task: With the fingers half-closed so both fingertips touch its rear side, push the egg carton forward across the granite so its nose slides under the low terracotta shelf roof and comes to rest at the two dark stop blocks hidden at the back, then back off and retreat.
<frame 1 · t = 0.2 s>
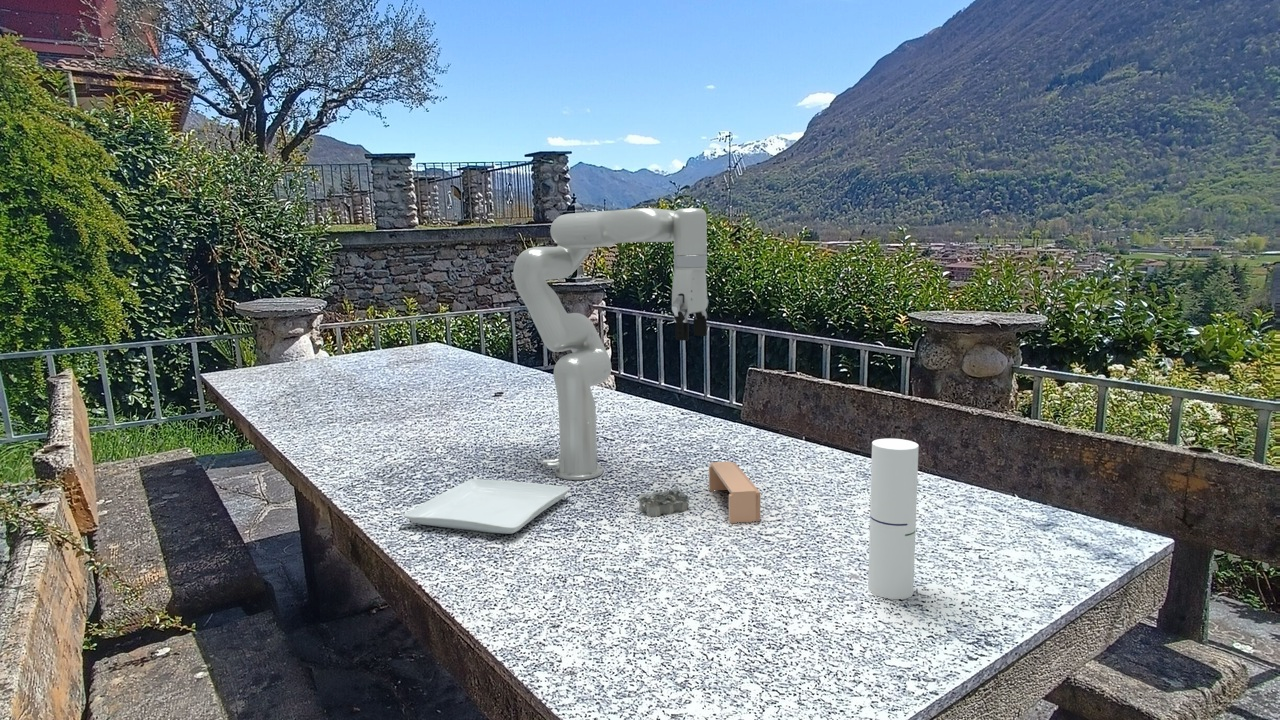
hand: (691, 337, 170), 37 cm above the table, tool pointing down, fingers open, 9 cm apart
cylindrical container: (890, 590, 123), on the table
egg carton: (663, 510, 164), on the table
square plate: (491, 516, 163), on the table
shelf: (729, 505, 165), on the table
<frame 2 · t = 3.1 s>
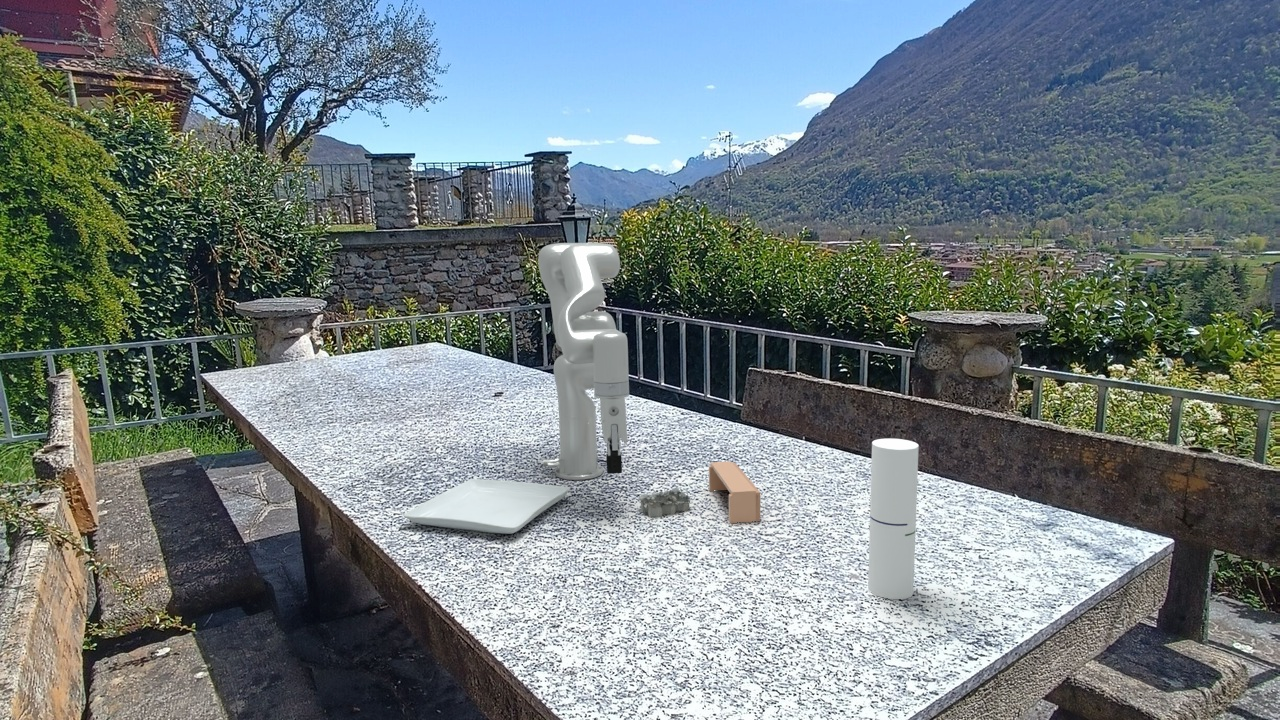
hand: (614, 472, 160), 9 cm above the table, tool pointing down, fingers closed
nothing on the table moved.
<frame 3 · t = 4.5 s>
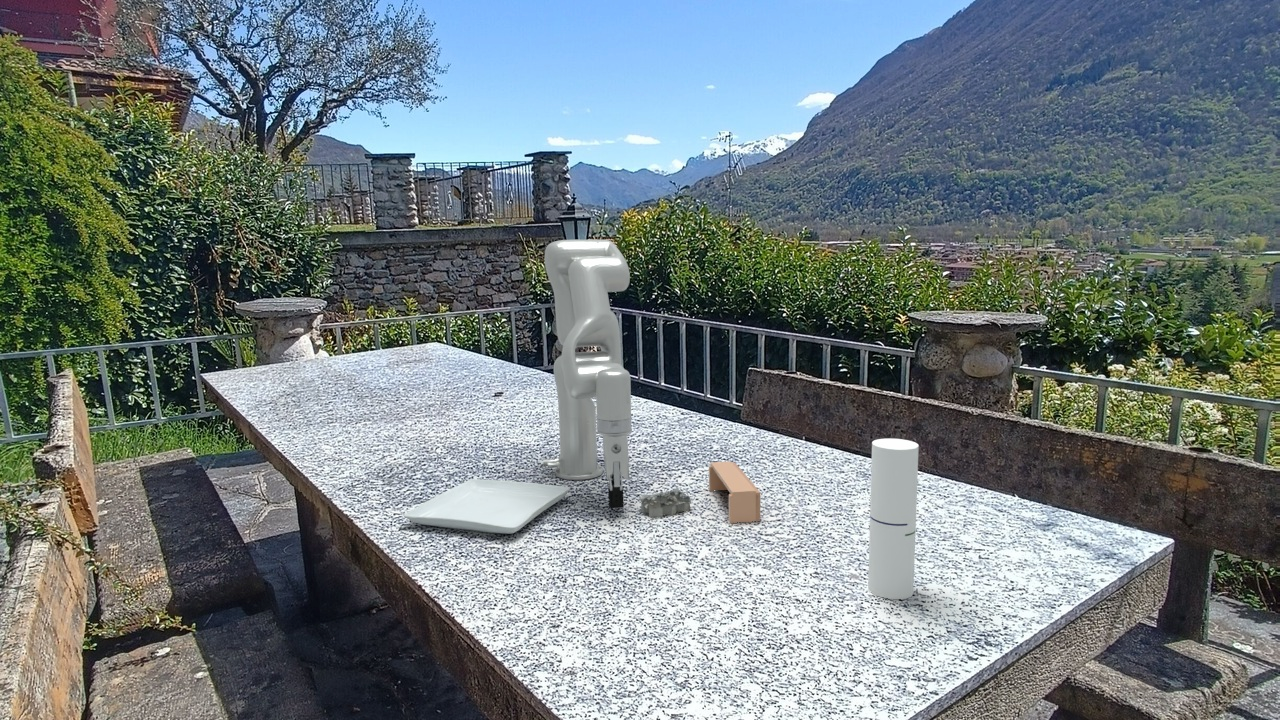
hand: (616, 506, 162), 1 cm above the table, tool pointing down, fingers closed
nothing on the table moved.
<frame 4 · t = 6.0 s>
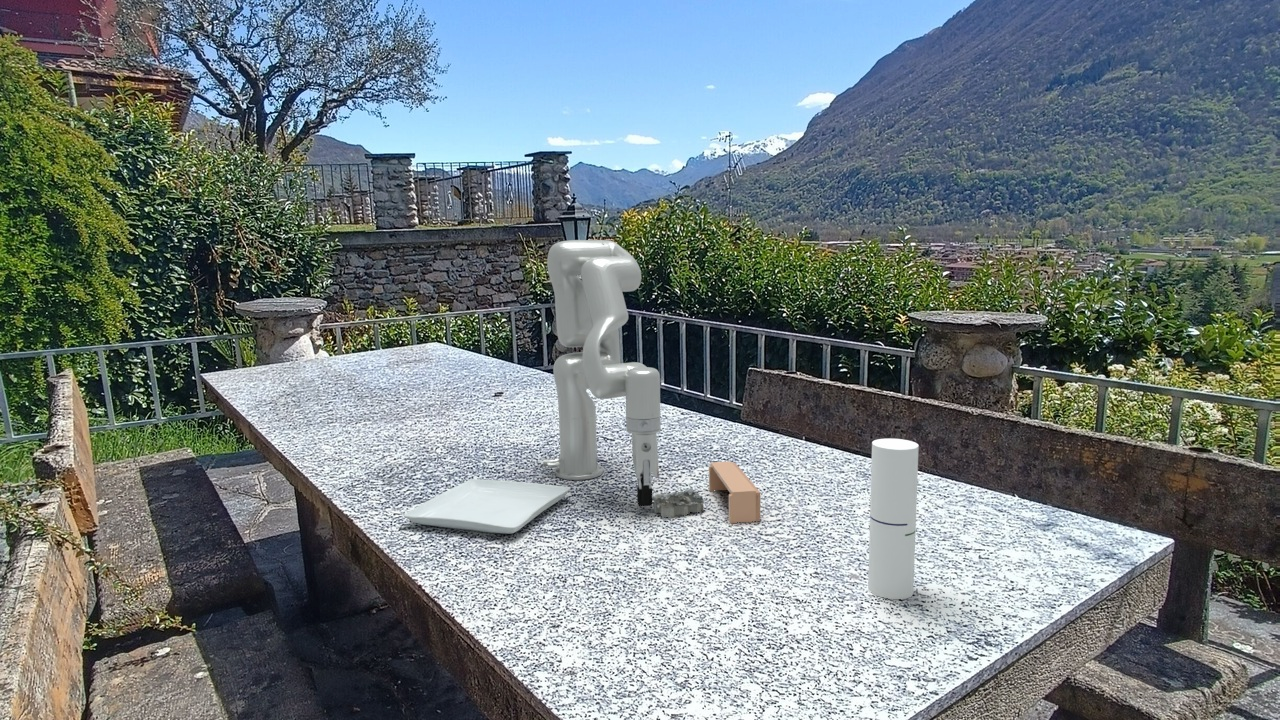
hand: (644, 504, 163), 1 cm above the table, tool pointing down, fingers closed
egg carton: (678, 512, 162), on the table, touching gripper
everything else where it was.
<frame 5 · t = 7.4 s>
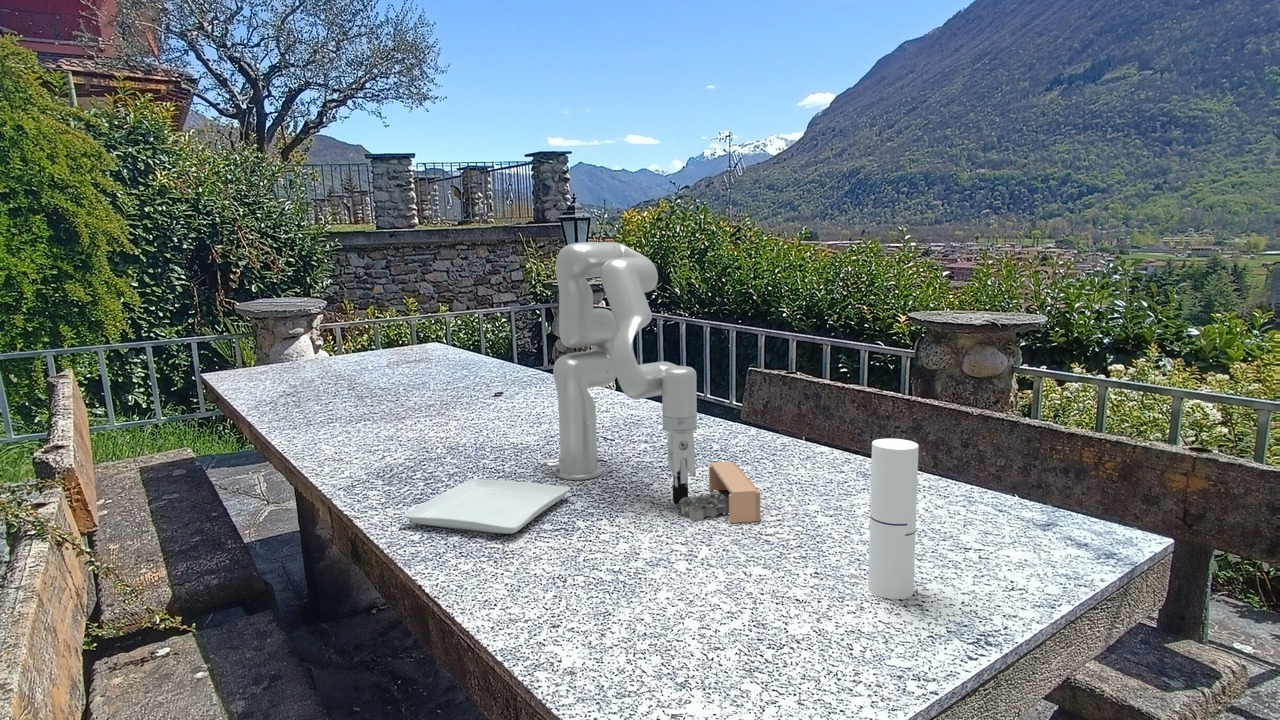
hand: (680, 502, 164), 1 cm above the table, tool pointing down, fingers closed
egg carton: (705, 514, 161), on the table
everything else where it was.
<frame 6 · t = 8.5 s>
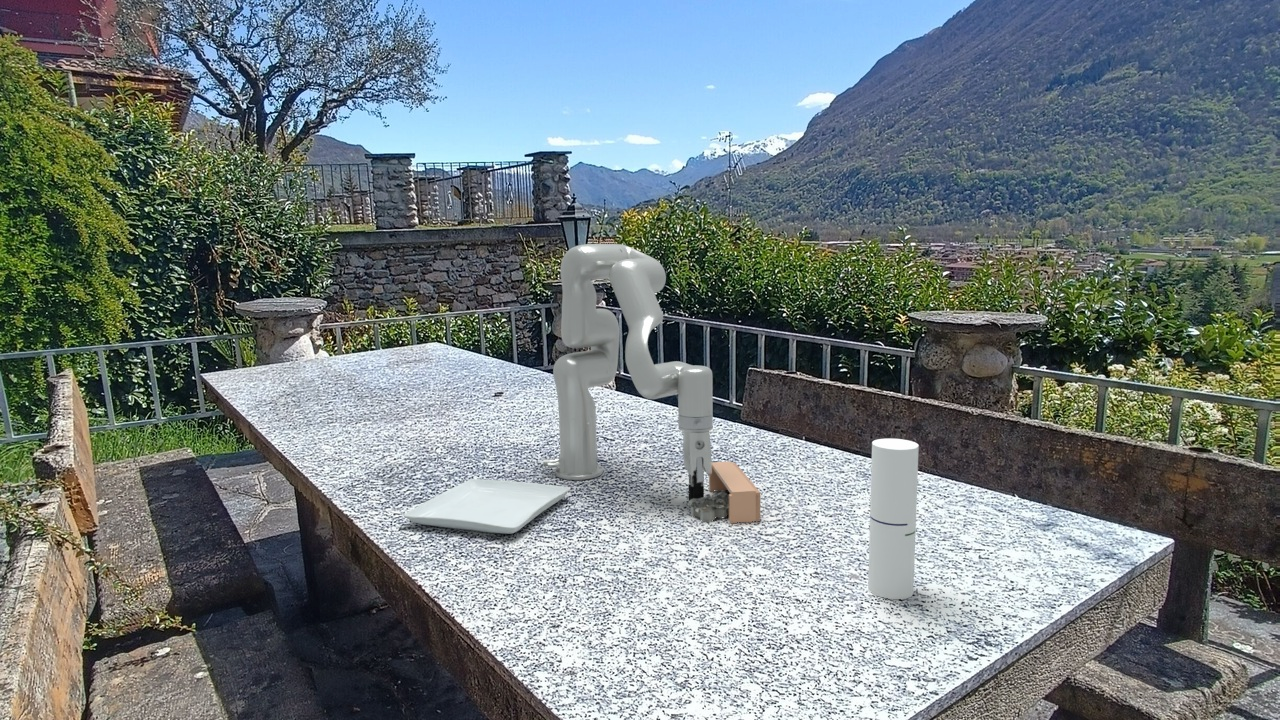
hand: (696, 502, 164), 1 cm above the table, tool pointing down, fingers closed
egg carton: (714, 515, 160), on the table
everything else where it was.
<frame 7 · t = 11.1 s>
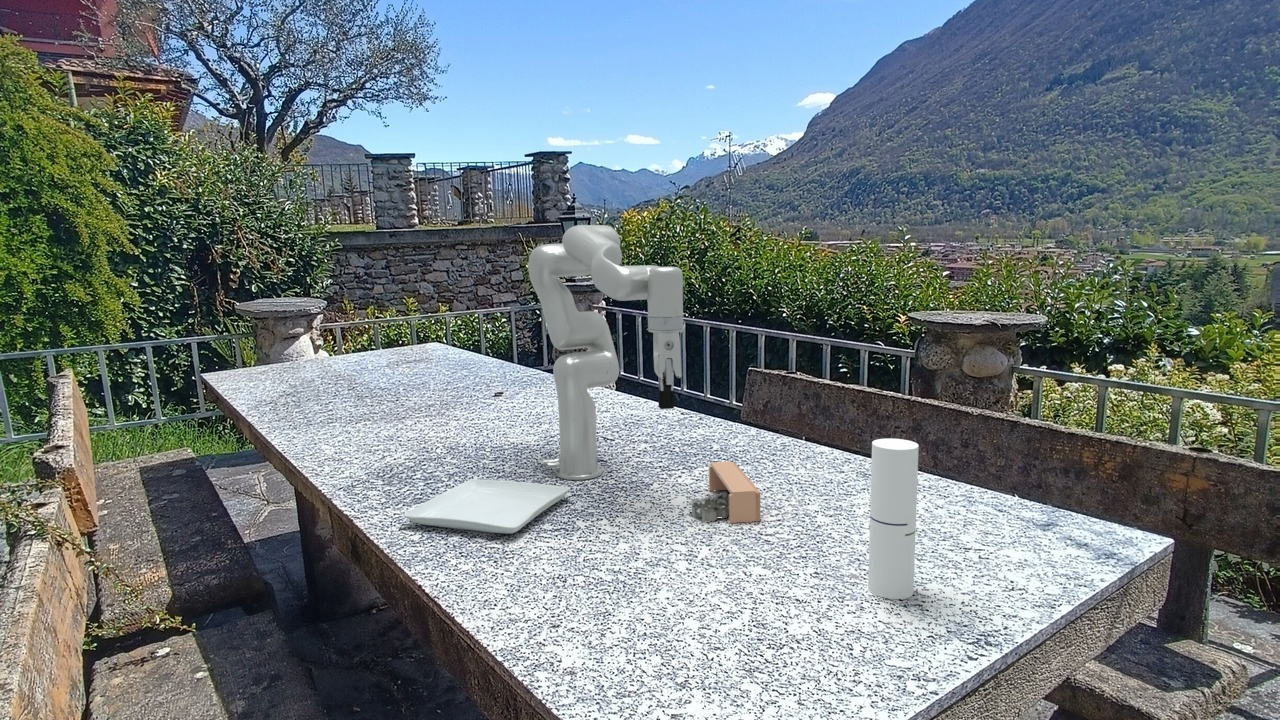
hand: (666, 407, 161), 23 cm above the table, tool pointing down, fingers closed
nothing on the table moved.
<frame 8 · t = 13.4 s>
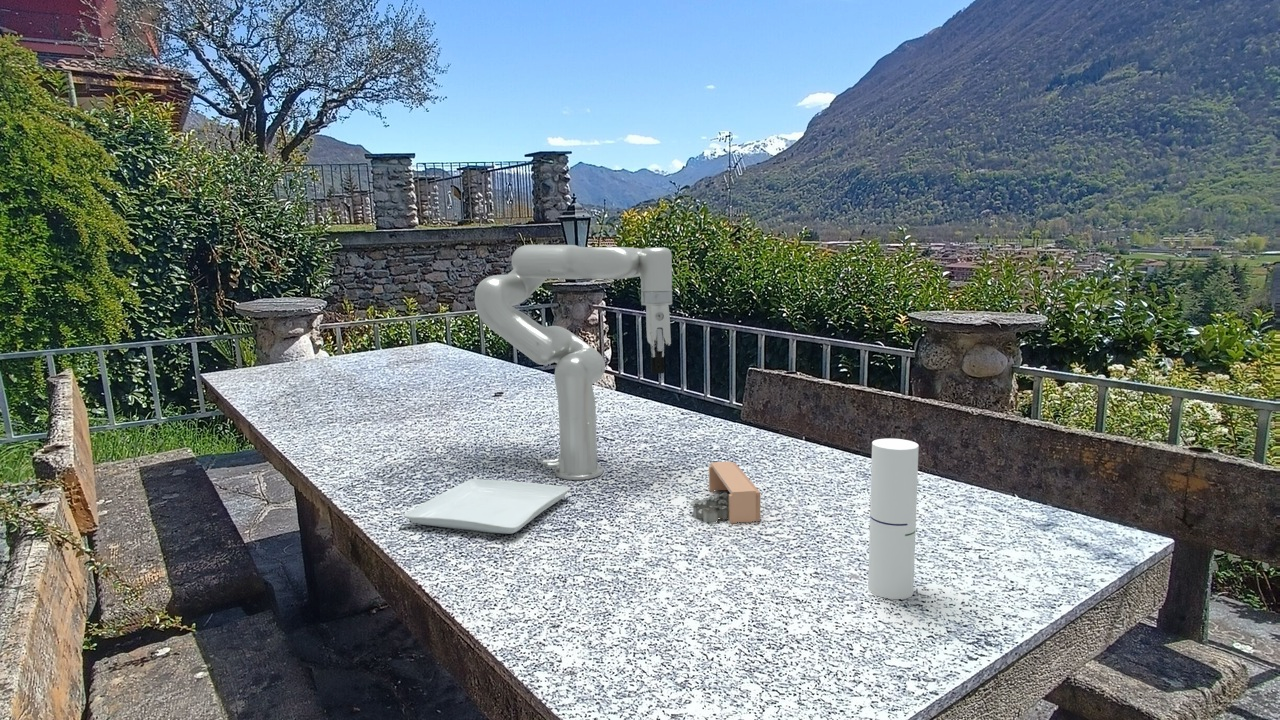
hand: (657, 372, 182), 27 cm above the table, tool pointing down, fingers closed
nothing on the table moved.
at the end: egg carton inside the target area (5.8 cm from its centre), on the table; egg carton tilted 0° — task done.
